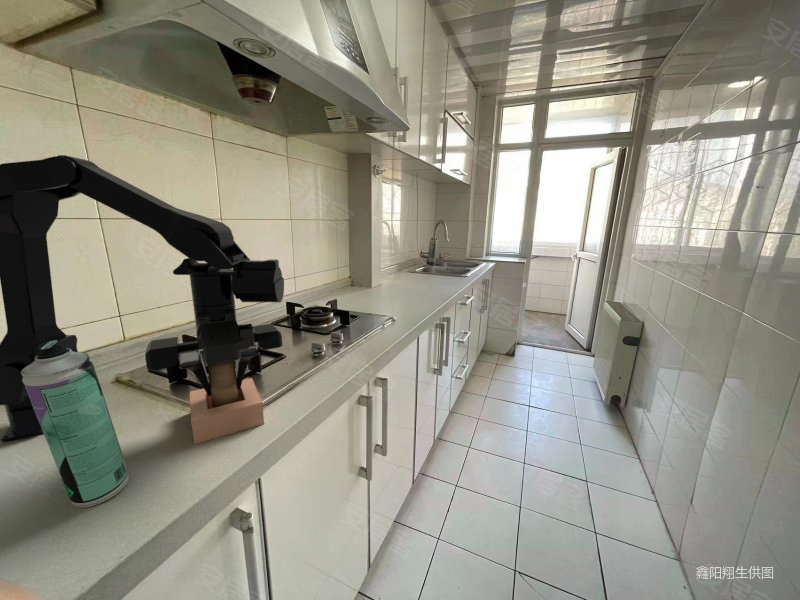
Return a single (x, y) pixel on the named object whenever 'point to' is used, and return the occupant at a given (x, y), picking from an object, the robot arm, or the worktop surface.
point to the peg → (223, 383)
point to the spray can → (76, 423)
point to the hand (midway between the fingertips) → (224, 391)
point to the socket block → (225, 413)
